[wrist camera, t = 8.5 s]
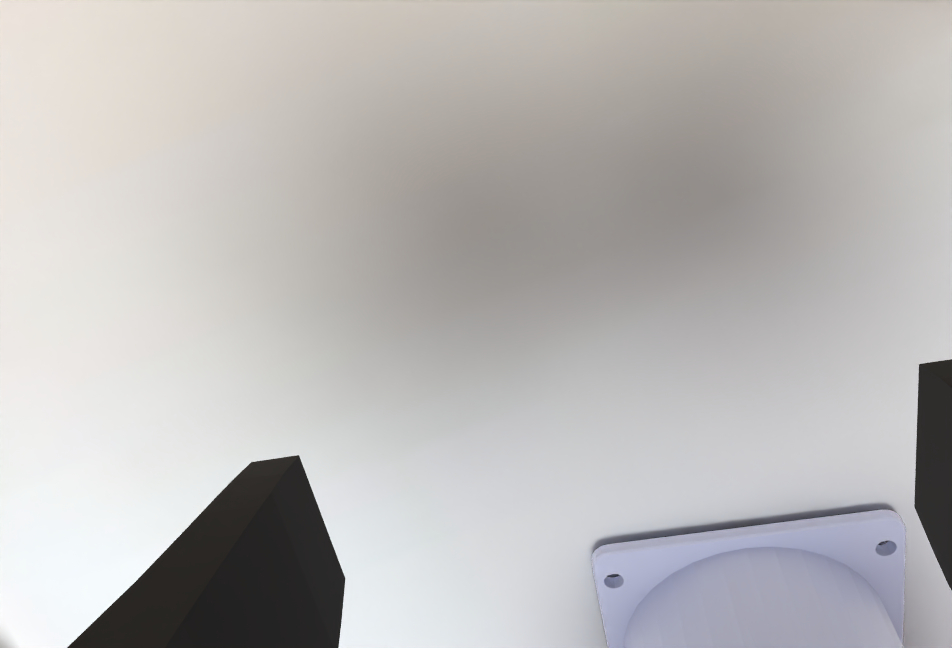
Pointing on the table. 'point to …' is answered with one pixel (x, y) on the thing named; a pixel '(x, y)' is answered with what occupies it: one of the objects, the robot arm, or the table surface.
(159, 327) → the table surface
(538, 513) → the table surface
